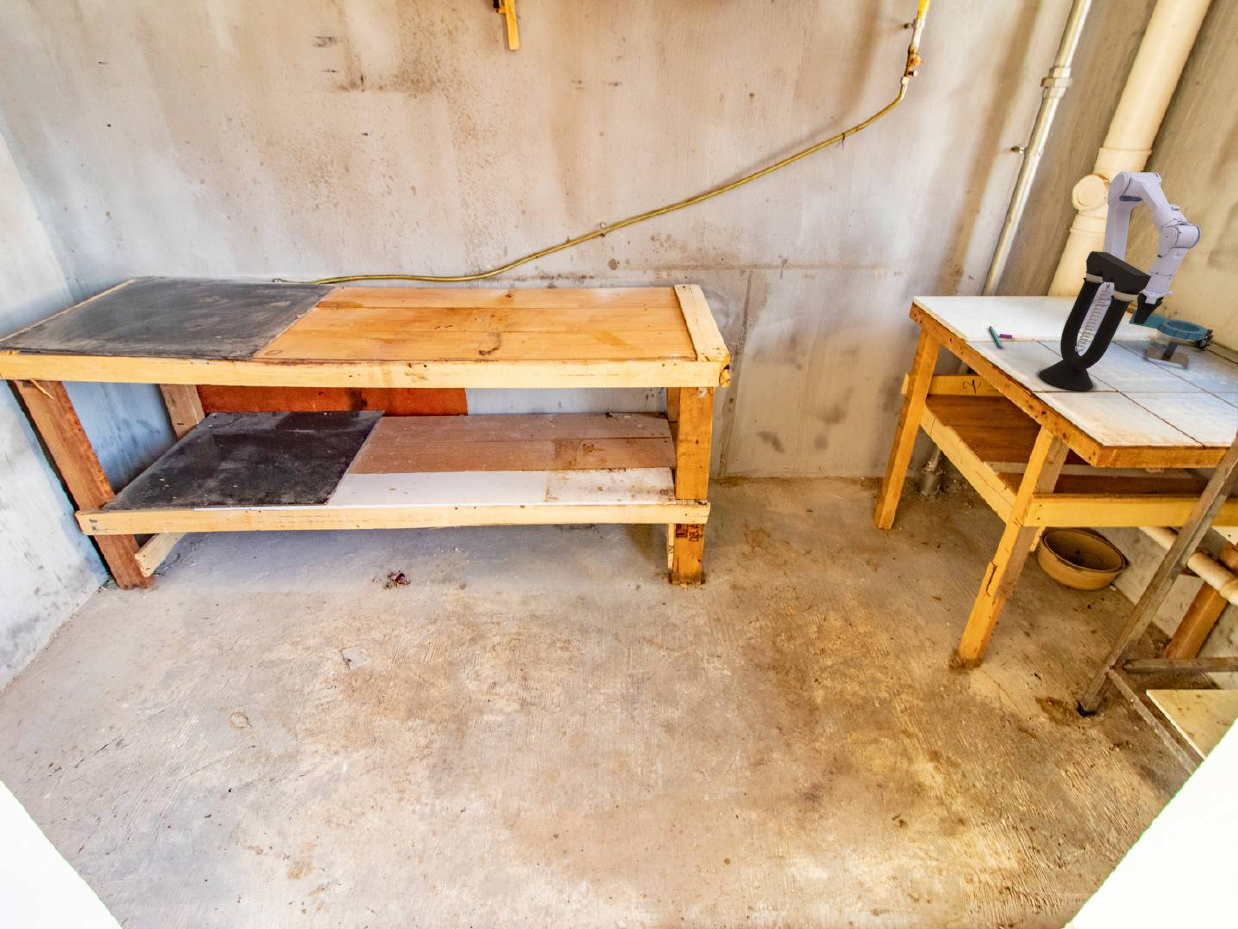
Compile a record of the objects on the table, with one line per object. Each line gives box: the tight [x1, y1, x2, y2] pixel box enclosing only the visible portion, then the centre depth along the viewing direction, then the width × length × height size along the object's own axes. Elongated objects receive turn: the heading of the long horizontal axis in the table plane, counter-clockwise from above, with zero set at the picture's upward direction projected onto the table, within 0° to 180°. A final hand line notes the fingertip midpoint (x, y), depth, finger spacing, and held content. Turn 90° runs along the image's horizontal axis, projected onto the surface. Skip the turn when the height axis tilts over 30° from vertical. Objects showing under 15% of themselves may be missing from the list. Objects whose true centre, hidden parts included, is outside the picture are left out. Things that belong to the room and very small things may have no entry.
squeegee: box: [988, 325, 1013, 349], centre depth 189 cm, size 15×1×5 cm
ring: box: [1128, 310, 1208, 340], centre depth 175 cm, size 17×10×3 cm, turn 53°
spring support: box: [1038, 250, 1151, 391], centre depth 160 cm, size 21×12×30 cm, turn 172°
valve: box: [1153, 328, 1214, 352], centre depth 185 cm, size 7×7×12 cm
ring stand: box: [1146, 340, 1188, 367], centre depth 178 cm, size 9×9×6 cm
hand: (1138, 322), depth 178 cm, fingers closed on ring, 2 cm apart
